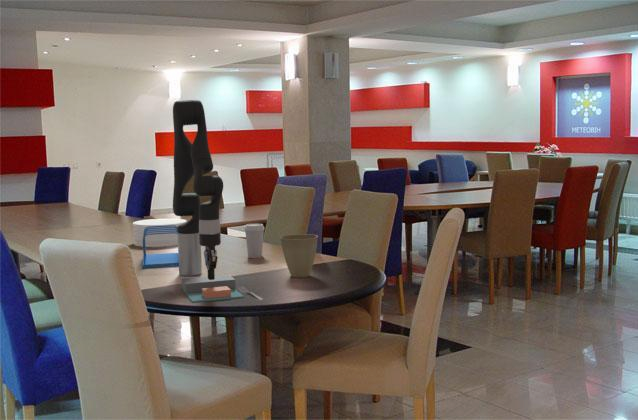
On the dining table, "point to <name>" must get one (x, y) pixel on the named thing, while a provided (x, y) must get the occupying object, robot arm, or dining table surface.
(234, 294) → the mat
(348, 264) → the dining table surface
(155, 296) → the dining table surface
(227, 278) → the panel
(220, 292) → the tile
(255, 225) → the coffee cup
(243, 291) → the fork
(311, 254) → the plant pot
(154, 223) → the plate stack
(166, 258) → the file sorter
